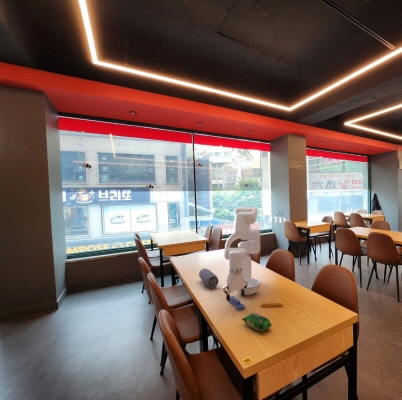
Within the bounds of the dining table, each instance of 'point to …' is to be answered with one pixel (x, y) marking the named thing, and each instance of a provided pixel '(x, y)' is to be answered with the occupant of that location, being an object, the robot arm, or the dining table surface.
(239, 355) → the dining table surface
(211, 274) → the bluetooth speaker
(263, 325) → the snack package
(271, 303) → the fry
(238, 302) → the blue notched block
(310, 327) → the dining table surface
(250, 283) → the cereal bowl
